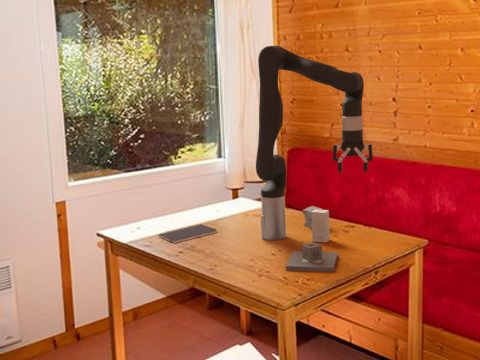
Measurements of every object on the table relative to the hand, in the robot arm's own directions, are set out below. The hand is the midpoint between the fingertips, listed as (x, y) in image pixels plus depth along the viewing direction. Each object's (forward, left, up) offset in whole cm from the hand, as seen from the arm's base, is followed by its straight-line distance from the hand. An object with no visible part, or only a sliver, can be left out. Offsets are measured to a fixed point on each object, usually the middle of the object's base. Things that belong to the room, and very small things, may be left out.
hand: (352, 172), depth 221 cm
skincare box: (-13, +5, -28) cm, 32 cm away
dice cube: (-13, -21, -27) cm, 36 cm away
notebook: (-69, +9, -29) cm, 75 cm away
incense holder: (-18, +24, -28) cm, 41 cm away
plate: (-13, -21, -28) cm, 37 cm away
